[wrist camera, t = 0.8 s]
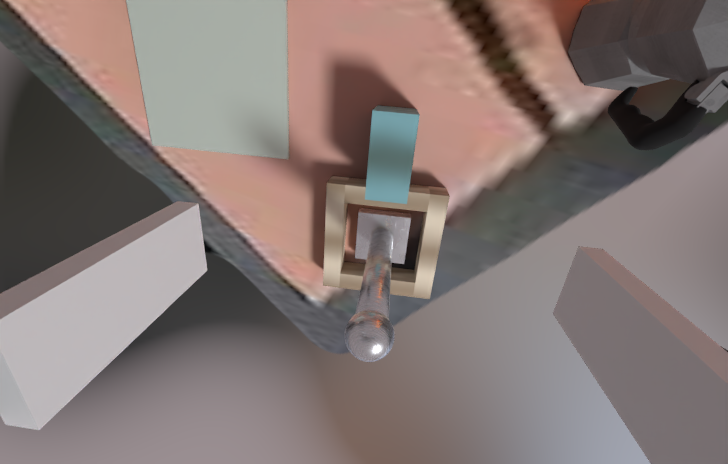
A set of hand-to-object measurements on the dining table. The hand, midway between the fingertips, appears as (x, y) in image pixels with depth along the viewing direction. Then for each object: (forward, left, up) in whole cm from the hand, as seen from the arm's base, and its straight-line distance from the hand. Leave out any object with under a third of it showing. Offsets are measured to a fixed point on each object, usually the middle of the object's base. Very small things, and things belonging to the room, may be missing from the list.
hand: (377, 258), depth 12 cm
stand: (+11, 0, -27) cm, 29 cm away
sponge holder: (+7, 0, -27) cm, 28 cm away
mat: (-7, -20, -27) cm, 34 cm away
